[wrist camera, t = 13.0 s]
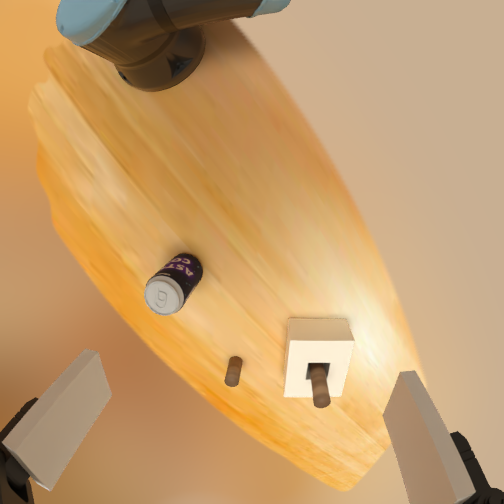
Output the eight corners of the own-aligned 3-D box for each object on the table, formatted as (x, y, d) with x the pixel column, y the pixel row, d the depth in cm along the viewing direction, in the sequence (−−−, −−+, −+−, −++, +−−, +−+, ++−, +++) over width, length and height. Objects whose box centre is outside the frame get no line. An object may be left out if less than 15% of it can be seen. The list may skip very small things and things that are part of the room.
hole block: (288, 317, 48) (290, 340, 41) (345, 318, 47) (354, 340, 40) (283, 372, 51) (283, 396, 44) (335, 372, 50) (340, 396, 44)
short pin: (229, 355, 51) (224, 376, 45) (242, 356, 51) (238, 377, 45) (229, 365, 52) (224, 386, 46) (242, 366, 52) (238, 387, 46)
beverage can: (208, 259, 46) (186, 288, 35) (198, 289, 48) (176, 324, 36) (176, 247, 46) (145, 271, 35) (167, 277, 48) (138, 308, 36)
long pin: (307, 343, 49) (315, 396, 36) (320, 343, 49) (331, 396, 35) (306, 354, 50) (312, 408, 36) (319, 354, 49) (328, 407, 36)
